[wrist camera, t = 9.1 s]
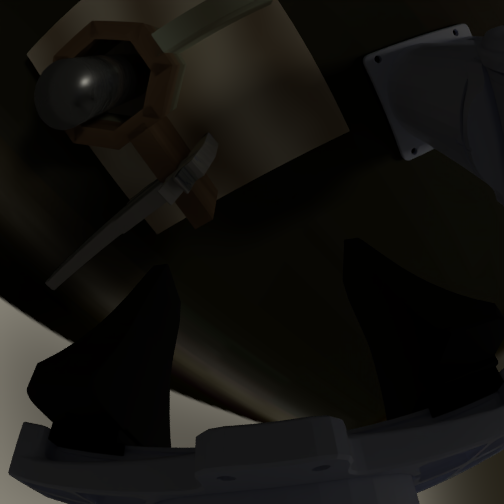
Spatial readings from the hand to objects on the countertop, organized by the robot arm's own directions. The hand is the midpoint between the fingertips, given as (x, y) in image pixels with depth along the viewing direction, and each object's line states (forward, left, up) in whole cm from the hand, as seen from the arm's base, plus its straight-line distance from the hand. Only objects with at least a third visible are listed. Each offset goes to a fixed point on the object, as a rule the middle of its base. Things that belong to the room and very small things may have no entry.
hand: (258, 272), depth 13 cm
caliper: (+11, -3, -10) cm, 15 cm away
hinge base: (0, -9, -10) cm, 14 cm away
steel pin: (+3, -10, -9) cm, 14 cm away
